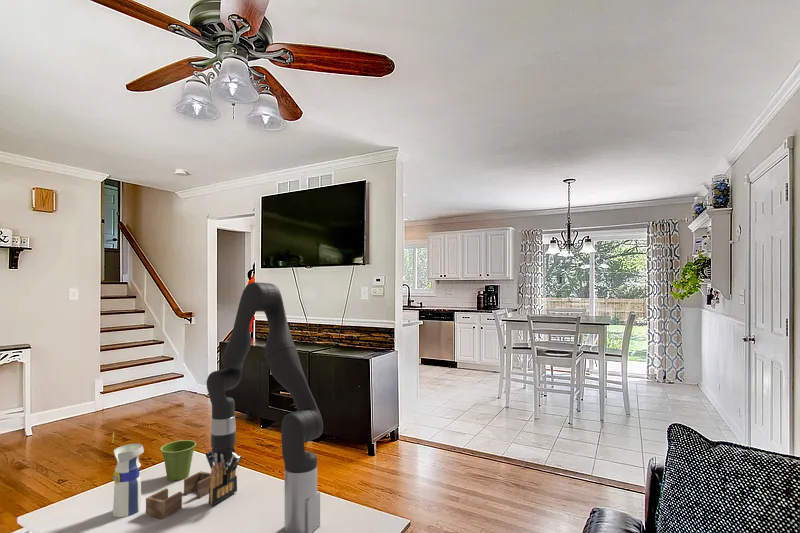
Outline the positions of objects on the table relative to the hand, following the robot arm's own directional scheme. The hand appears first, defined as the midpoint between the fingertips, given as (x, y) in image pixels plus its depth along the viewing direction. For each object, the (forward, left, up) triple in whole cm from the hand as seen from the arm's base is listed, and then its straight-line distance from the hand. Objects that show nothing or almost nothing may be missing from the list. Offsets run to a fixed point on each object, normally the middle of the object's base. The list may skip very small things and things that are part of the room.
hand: (223, 484), depth 145 cm
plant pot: (+28, -7, -5) cm, 30 cm away
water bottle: (+22, +17, -5) cm, 28 cm away
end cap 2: (+11, -1, -5) cm, 12 cm away
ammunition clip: (0, 0, -4) cm, 4 cm away
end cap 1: (+11, +13, -5) cm, 18 cm away
